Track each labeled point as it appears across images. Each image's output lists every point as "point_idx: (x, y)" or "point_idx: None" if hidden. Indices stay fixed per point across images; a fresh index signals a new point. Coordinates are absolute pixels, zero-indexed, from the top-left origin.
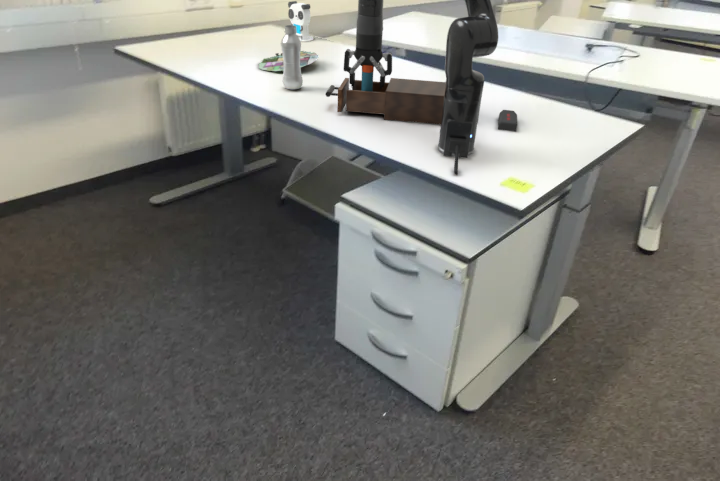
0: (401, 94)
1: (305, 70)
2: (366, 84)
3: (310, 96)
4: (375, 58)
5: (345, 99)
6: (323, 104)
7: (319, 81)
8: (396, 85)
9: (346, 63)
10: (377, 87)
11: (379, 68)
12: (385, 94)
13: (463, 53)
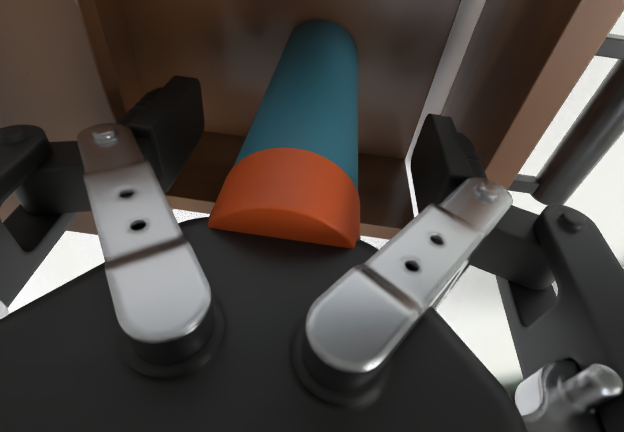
0: None
1: (509, 392)
2: (309, 82)
3: (593, 221)
4: (113, 315)
5: (462, 96)
6: (570, 122)
7: (491, 338)
8: (26, 78)
9: (597, 280)
10: None
11: (102, 171)
12: None
13: None
